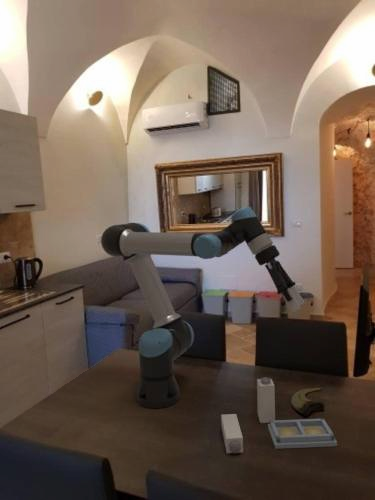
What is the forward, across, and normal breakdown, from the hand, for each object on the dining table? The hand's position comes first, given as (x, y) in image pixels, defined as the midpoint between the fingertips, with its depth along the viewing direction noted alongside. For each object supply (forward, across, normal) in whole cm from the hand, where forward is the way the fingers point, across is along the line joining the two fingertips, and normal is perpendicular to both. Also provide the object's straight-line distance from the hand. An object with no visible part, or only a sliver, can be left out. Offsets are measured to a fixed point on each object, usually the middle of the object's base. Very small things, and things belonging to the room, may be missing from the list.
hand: (299, 307), depth 123 cm
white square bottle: (+25, -4, +26) cm, 36 cm away
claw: (+30, +10, +16) cm, 35 cm away
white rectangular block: (+23, -18, +34) cm, 44 cm away
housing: (+31, -11, +17) cm, 37 cm away
